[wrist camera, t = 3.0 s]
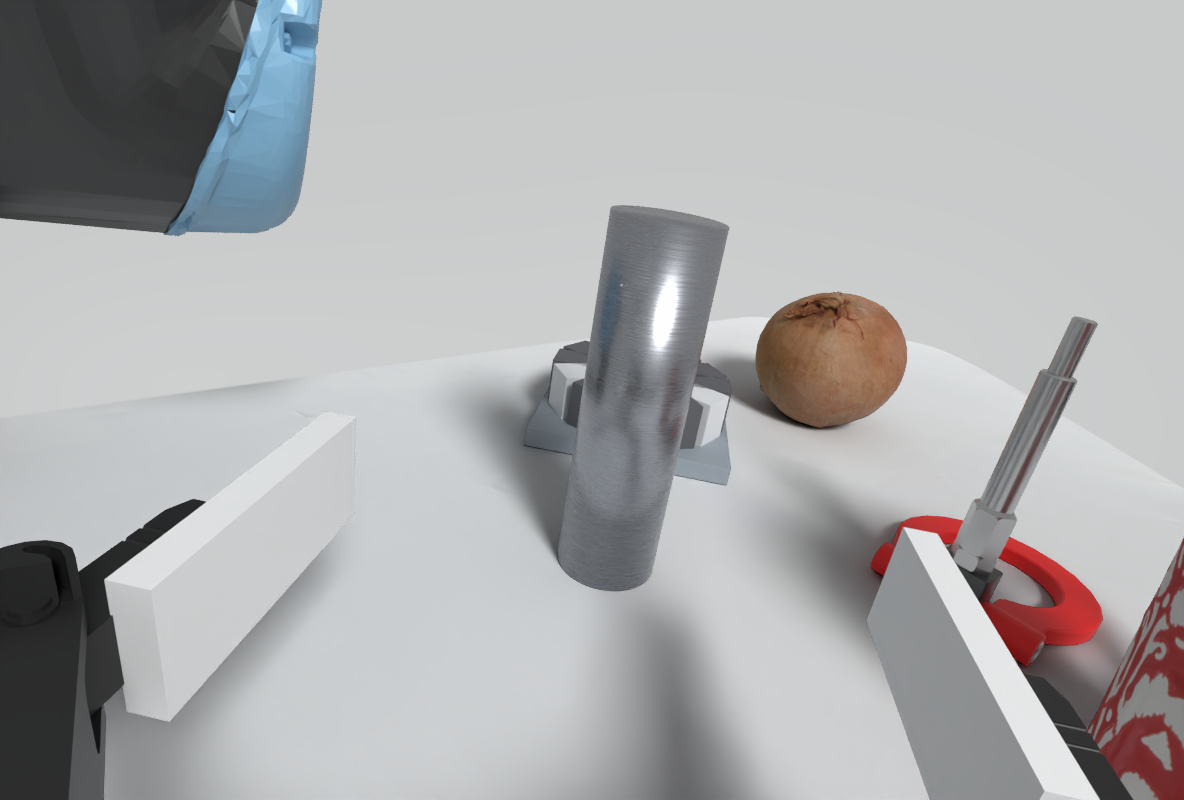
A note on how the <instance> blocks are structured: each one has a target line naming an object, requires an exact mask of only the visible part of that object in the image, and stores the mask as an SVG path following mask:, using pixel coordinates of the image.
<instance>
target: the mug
mask: <svg viewBox="0 0 1184 800" xmlns="http://www.w3.org/2000/svg"><path fill="white" fill-rule="evenodd" d="M1086 733H1090V735H1091V736H1092V738H1093V739H1094V741H1095V742H1096V744H1097V745H1098V747H1099V748H1100V754H1103V755H1104V756H1105V757H1106V759H1107V760H1108V762H1109V763H1110V765H1111V766H1112V768H1113V770H1114V771H1115V773H1116V774H1117V776H1118V777H1119V779H1120V780H1121V782H1122V783H1123V785H1124V786H1125V788H1126V789H1127V791H1128V792H1129V794H1130V795H1131V797H1132V798H1133V800H1184V538H1183V541H1182V543H1181V545H1180V547H1179V549H1178V551H1177V553H1176V555H1175V557H1174V559H1173V561H1172V562H1171V564H1170V566H1169V568H1168V570H1167V572H1166V575H1165V577H1164V579H1163V581H1162V583H1161V585H1160V587H1159V589H1158V591H1157V592H1156V594H1155V596H1154V598H1153V600H1152V602H1151V604H1150V606H1149V607H1148V609H1147V611H1146V612H1145V614H1144V617H1143V620H1142V622H1141V625H1140V627H1139V629H1138V631H1137V633H1136V635H1135V637H1134V638H1133V640H1132V642H1131V644H1130V646H1129V648H1128V650H1127V652H1126V654H1125V656H1124V658H1123V660H1122V662H1121V664H1120V666H1119V668H1118V670H1117V672H1116V674H1115V676H1114V678H1113V681H1112V683H1111V685H1110V687H1109V689H1108V691H1107V693H1106V695H1105V697H1104V699H1103V701H1102V703H1101V705H1100V707H1099V709H1098V711H1097V713H1096V715H1095V717H1094V719H1093V720H1092V722H1091V724H1090V726H1089V728H1088V730H1087V732H1086Z"/></svg>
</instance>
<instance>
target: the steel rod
mask: <svg viewBox="0 0 1184 800" xmlns="http://www.w3.org/2000/svg"><path fill="white" fill-rule="evenodd" d="M728 231H729V227H728V226H727V225H725V224H723V223H720V222H718V221H715V220H711V219H707V218H704V217H700V216H696V215H691V214H686V213H681V212H676V211H670V210H664V209H657V208H649V207H640V206H624V205H622V206H612V207H611V209H610V216H609V222H608V229H607V235H606V242H605V248H604V255H603V262H602V268H601V274H600V280H599V287H598V294H597V300H596V306H595V313H594V319H593V326H592V332H591V339H590V345H589V352H588V358H587V365H586V371H585V378H584V384H583V391H582V397H581V404H580V410H579V416H578V423H577V429H576V436H575V442H574V449H573V455H572V462H571V468H570V475H569V481H568V488H567V494H566V501H565V507H564V514H563V520H562V527H561V533H560V540H559V546H558V553H557V557H558V561H559V563H560V565H561V567H562V568H563V570H564V571H565V572H566V573H567V574H568V575H569V576H570V577H572V578H573V579H575V580H576V581H578V582H580V583H582V584H584V585H586V586H589V587H592V588H596V589H600V590H606V591H623V590H629V589H633V588H636V587H638V586H640V585H642V584H643V583H645V582H646V581H647V580H648V578H649V577H650V575H651V573H652V569H653V565H654V560H655V556H656V551H657V547H658V542H659V538H660V533H661V529H662V524H663V520H664V516H665V511H666V507H667V502H668V498H669V493H670V489H671V484H672V480H673V475H674V471H675V467H676V462H677V458H678V453H679V449H680V444H681V440H682V435H683V431H684V427H685V422H686V418H687V413H688V409H689V404H690V400H691V395H692V391H693V386H694V382H695V378H696V373H697V369H698V364H699V360H700V355H701V351H702V346H703V342H704V338H705V333H706V329H707V324H708V320H709V315H710V310H711V306H712V302H713V297H714V293H715V288H716V284H717V280H718V275H719V271H720V266H721V262H722V257H723V253H724V248H725V244H726V239H727V235H728Z"/></svg>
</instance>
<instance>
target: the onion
mask: <svg viewBox="0 0 1184 800" xmlns="http://www.w3.org/2000/svg"><path fill="white" fill-rule="evenodd" d="M906 363H907V347H906V342H905V338H904V335H903V333H902V330H901V328H900V326H899V325H898V323H897V321H896V320H895V319H894V317H893V316H892V315H891V314H890V313H889V312H888V311H887V310H886V309H885V308H884V307H883V306H880V305H879V304H877V303H875V302H873V301H870V300H868V299H866V298H863V297H861V296H857V295H852V294H844V293H839V292H833V293H821V294H816V295H811V296H808V297H804V298H802V299H799V300H797V301H794V302H792V303H790V304H788V305H786V306H785V307H783V308H782V309H780V310H779V311H777V312H776V313H775V314H774V315H773V317H772V318H771V319H770V320H769V321H768V323H767V324H766V326H765V328H764V330H763V332H762V333H761V335H760V338H759V341H758V344H757V351H756V370H757V374H758V377H759V380H760V385H761V386H760V388H761V390H762V391H763V392H764V393H765V394H766V395H767V396H768V397H769V399H770V400H771V401H772V402H773V403H774V404H775V405H776V406H777V407H778V409H779V410H780V411H781V412H783V413H784V414H785V415H787V416H788V417H790V418H792V419H794V420H796V421H799V422H802V423H805V424H808V425H811V426H814V427H819V428H822V427H825V426H832V425H842V424H846V423H850V422H852V421H855V420H858V419H862V418H864V417H867V416H869V415H870V414H872V413H873V412H875V411H876V410H877V409H878V408H880V407H881V406H882V405H883V404H885V403H886V402H887V401H888V399H889V398H890V397H891V396H892V395H893V394H894V392H895V391H896V390H897V388H898V386H899V384H900V382H901V380H902V378H903V375H904V372H905V368H906Z"/></svg>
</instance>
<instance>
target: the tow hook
mask: <svg viewBox="0 0 1184 800" xmlns="http://www.w3.org/2000/svg"><path fill="white" fill-rule="evenodd" d="M1097 325H1098V324H1097V322H1095V321H1092V320H1089V319H1085V318H1081V317H1073V318H1072V319H1071V322H1070V324H1069V326H1068V328H1067V330H1066V332H1065V334H1064V337H1063V339H1062V341H1061V343H1060V345H1059V347H1058V349H1057V351H1056V354H1055V356H1054V358H1053V360H1052V362H1051V365H1050V366H1049V368H1048V370H1047V369H1043V370H1041V371H1040V372H1039V375H1038V376H1037V379H1036V381H1035V383H1034V385H1033V387H1032V389H1031V392H1030V394H1029V396H1028V398H1027V400H1026V402H1025V404H1024V407H1023V409H1022V411H1021V413H1020V415H1019V417H1018V419H1017V422H1016V424H1015V426H1014V428H1013V430H1012V432H1011V435H1010V437H1009V439H1008V441H1007V443H1006V445H1005V447H1004V450H1003V452H1002V454H1001V456H1000V458H999V460H998V463H997V465H996V467H995V469H994V471H993V473H992V475H991V478H990V480H989V482H988V484H987V486H986V488H985V491H984V493H983V495H982V497H981V498H979V499H975V500H973V502H972V503H971V506H970V508H969V510H968V512H967V514H966V517H965V519H964V521H963V520H958V519H953V518H948V517H940V516H920V517H913V518H909V519H907V520H906V521H904V522H902V523H901V524H900V526H899V528H898V531H897V533H896V535H895V538H894V540H893V545H892V544H890V543H885V544H884V545H882V546H881V547H880V549H879V550H878V551H877V553H876V554H875V556H874V558H873V561H872V564H871V568H872V569H873V570H875V571H876V572H878V573H879V574H881V575H883V576H884V575H885V572H886V570H887V567H888V565H889V562H890V560H891V557H892V554H893V552H894V549H895V547H896V544H897V542H898V539H899V537H900V534H901V531H902V529H903V527H906V528H911V529H916V530H921V531H926V532H931V533H936V534H938V536H939V537H940V539H941V540H942V542H943V543H944V544H953V545H950V546H949V547H947V548H946V549H947V550H948V552H949V554H950V555H951V557H952V558H953V560H954V562H955V563H956V565H957V567H958V568H959V570H960V572H961V573H962V575H963V576H964V578H965V580H966V581H967V583H968V585H969V586H970V588H971V590H972V591H973V593H974V594H975V596H976V598H977V599H978V601H979V603H980V604H981V606H982V608H983V609H984V611H985V612H986V614H987V616H988V617H989V619H990V621H991V622H992V624H993V626H994V627H995V629H996V630H997V632H998V634H999V635H1000V637H1001V639H1002V640H1003V642H1004V644H1005V645H1006V647H1007V649H1008V650H1009V652H1010V653H1011V655H1012V657H1013V658H1014V659H1016V660H1017V661H1019V662H1020V663H1022V664H1024V665H1025V666H1028V665H1029V664H1031V663H1032V662H1033V661H1034V660H1035V659H1036V657H1037V656H1038V655H1039V653H1040V651H1041V650H1042V648H1043V646H1044V643H1046V644H1051V645H1077V644H1080V643H1083V642H1086V641H1089V640H1091V638H1092V637H1093V635H1094V634H1095V632H1096V630H1097V629H1098V627H1099V625H1100V624H1101V622H1102V620H1103V617H1102V611H1101V607H1100V605H1099V604H1098V602H1097V601H1096V599H1095V598H1094V596H1093V594H1092V593H1091V592H1090V590H1089V589H1087V588H1086V587H1085V586H1084V585H1083V584H1082V583H1081V582H1080V581H1079V580H1078V579H1077V578H1076V577H1075V576H1074V575H1073V574H1071V573H1070V572H1069V571H1067V570H1066V569H1065V568H1063V567H1062V566H1061V565H1059V564H1058V563H1057V562H1055V561H1053V560H1052V559H1050V558H1048V557H1047V556H1045V555H1043V554H1042V553H1040V552H1038V551H1037V550H1035V549H1033V548H1031V547H1029V546H1027V545H1025V544H1023V543H1021V542H1019V541H1017V540H1015V539H1013V538H1011V537H1010V534H1011V532H1012V530H1013V528H1014V526H1015V524H1016V521H1017V518H1016V516H1015V514H1014V510H1015V508H1016V506H1017V504H1018V502H1019V500H1020V498H1021V496H1022V494H1023V492H1024V490H1025V488H1026V486H1027V484H1028V482H1029V480H1030V478H1031V476H1032V474H1033V472H1034V470H1035V468H1036V466H1037V463H1038V461H1039V459H1040V457H1041V455H1042V453H1043V451H1044V449H1045V447H1046V445H1047V443H1048V441H1049V439H1050V437H1051V435H1052V433H1053V431H1054V429H1055V427H1056V425H1057V423H1058V421H1059V419H1060V417H1061V414H1062V412H1063V410H1064V408H1065V406H1066V404H1067V402H1068V400H1069V398H1070V396H1071V394H1072V392H1073V390H1074V388H1075V386H1076V384H1077V380H1076V379H1075V378H1073V377H1072V376H1073V374H1074V372H1075V370H1076V368H1077V366H1078V364H1079V362H1080V360H1081V358H1082V356H1083V354H1084V351H1085V350H1086V348H1087V345H1088V343H1089V341H1090V339H1091V337H1092V335H1093V333H1094V331H1095V329H1096V327H1097ZM998 558H1000V559H1002V560H1004V561H1006V562H1007V563H1009V564H1011V565H1013V566H1015V567H1017V568H1018V569H1020V570H1021V571H1023V572H1025V573H1026V574H1028V575H1029V576H1031V577H1032V578H1033V579H1034V580H1036V581H1037V582H1038V583H1039V584H1040V585H1042V586H1043V587H1044V588H1045V589H1046V590H1047V592H1048V593H1049V594H1050V595H1051V596H1052V598H1053V600H1054V601H1055V603H1056V606H1054V607H1051V608H1036V607H1031V606H1026V605H1021V604H1018V603H1015V602H1012V601H1009V600H1002V599H998V600H997V601H996V602H995V603H993V604H991V603H990V602H989V601H990V599H991V597H992V595H993V593H994V591H995V589H996V587H997V585H998V583H999V581H1000V579H1001V577H1002V575H1003V573H1002V572H1001V571H999V570H997V569H995V568H994V567H995V565H996V562H997V559H998Z"/></svg>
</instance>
